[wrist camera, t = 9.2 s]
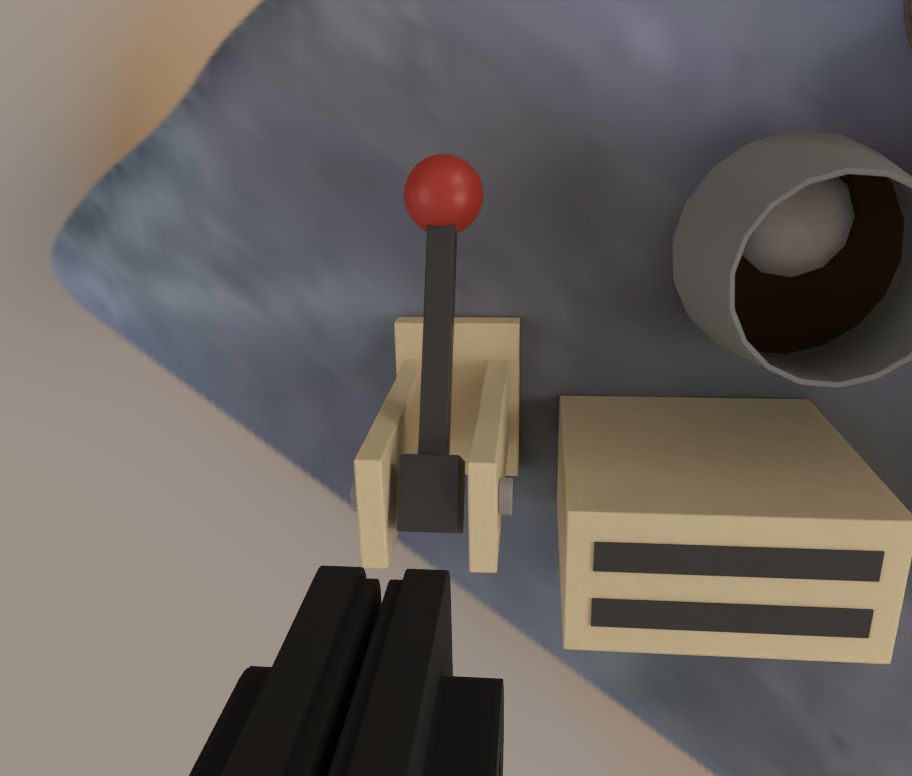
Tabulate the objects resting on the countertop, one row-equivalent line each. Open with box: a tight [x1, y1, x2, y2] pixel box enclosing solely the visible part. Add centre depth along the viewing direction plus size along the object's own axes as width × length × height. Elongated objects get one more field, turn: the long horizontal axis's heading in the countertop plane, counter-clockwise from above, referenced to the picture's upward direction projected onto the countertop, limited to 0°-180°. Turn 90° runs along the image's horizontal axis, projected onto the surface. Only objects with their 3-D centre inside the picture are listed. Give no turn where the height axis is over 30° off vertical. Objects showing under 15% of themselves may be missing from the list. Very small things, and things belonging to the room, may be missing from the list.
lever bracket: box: [350, 317, 520, 573], centre depth 34 cm, size 8×6×13 cm
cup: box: [672, 130, 912, 388], centre depth 31 cm, size 10×9×10 cm
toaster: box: [557, 395, 912, 664], centre depth 34 cm, size 6×12×12 cm, turn 91°
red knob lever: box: [397, 154, 483, 533], centre depth 31 cm, size 15×3×3 cm, turn 0°
